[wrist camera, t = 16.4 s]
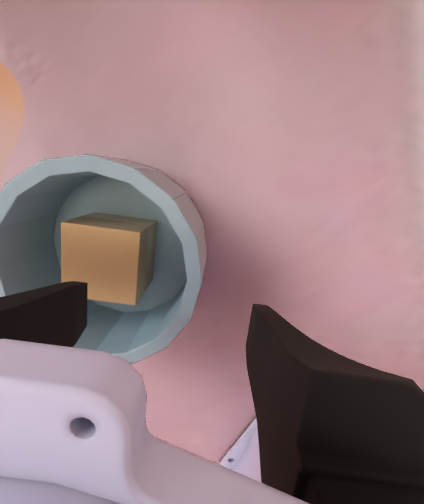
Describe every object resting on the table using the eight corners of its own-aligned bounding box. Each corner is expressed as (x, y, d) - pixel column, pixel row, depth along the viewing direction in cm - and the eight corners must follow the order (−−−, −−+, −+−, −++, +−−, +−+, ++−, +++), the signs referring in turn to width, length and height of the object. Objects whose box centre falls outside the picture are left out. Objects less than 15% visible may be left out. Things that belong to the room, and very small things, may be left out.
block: (152, 279, 21) (135, 306, 17) (93, 271, 21) (61, 296, 17) (157, 220, 20) (140, 232, 16) (94, 211, 20) (60, 221, 16)
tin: (183, 335, 23) (170, 388, 17) (37, 294, 22) (-27, 335, 17) (226, 189, 20) (228, 195, 14) (59, 139, 19) (-9, 124, 14)
